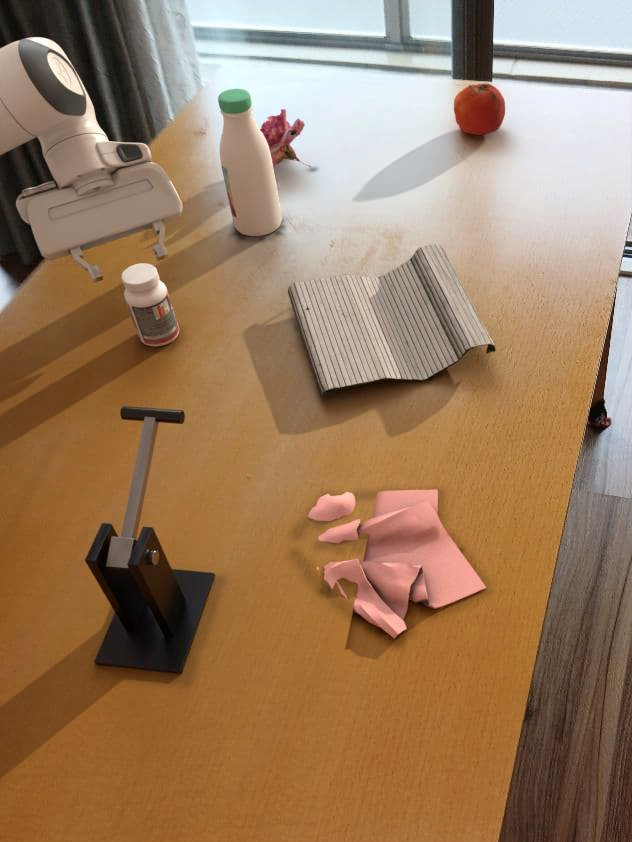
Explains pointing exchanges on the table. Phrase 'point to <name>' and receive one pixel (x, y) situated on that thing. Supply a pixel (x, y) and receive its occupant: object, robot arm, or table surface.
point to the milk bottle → (247, 167)
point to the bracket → (148, 605)
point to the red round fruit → (479, 109)
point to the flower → (281, 137)
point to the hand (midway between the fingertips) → (131, 269)
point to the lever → (138, 480)
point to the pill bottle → (149, 305)
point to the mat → (387, 323)
